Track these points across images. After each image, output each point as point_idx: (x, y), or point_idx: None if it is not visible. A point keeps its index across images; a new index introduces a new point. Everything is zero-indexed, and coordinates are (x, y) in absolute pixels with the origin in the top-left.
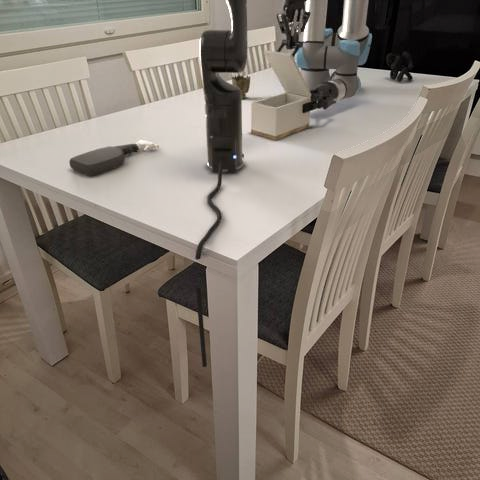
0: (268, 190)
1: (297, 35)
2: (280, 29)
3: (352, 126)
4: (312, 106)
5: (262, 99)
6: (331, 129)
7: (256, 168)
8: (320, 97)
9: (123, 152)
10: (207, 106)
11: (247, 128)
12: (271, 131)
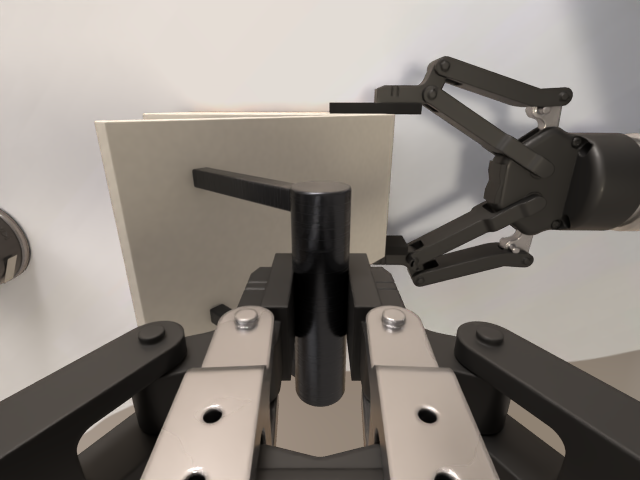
0: (8, 374)
1: (355, 379)
2: (86, 356)
3: (452, 303)
4: None
5: (215, 116)
6: (392, 276)
7: (45, 299)
8: (461, 236)
9: None
10: None
11: (217, 62)
12: None
